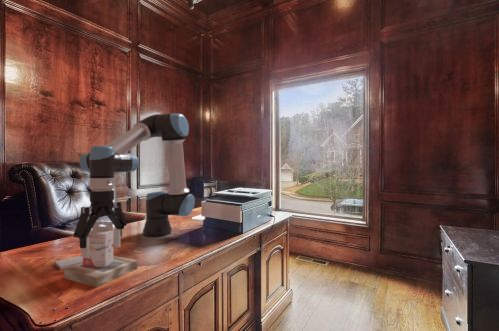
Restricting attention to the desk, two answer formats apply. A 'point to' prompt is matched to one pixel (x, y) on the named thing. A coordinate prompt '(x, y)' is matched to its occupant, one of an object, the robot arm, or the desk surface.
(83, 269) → the ash base block
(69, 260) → the external hard drive
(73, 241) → the desk surface
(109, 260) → the ink cartridge box
